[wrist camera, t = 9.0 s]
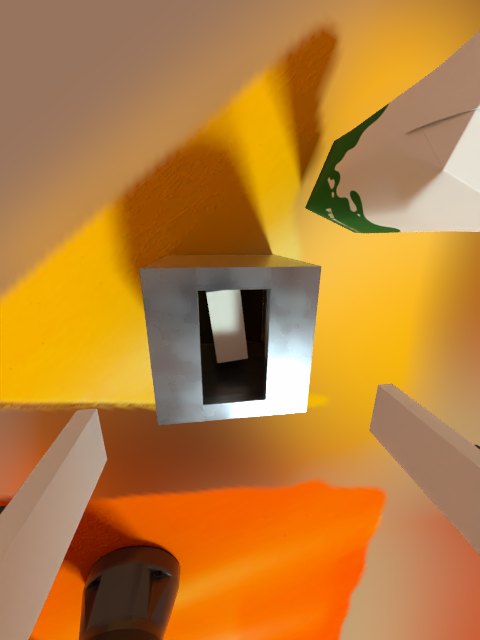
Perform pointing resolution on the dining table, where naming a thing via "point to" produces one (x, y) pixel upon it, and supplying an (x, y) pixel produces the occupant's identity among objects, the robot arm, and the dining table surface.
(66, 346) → the dining table surface
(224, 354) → the white rectangular block
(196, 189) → the dining table surface
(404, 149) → the milk carton
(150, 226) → the dining table surface
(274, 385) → the grey open box
